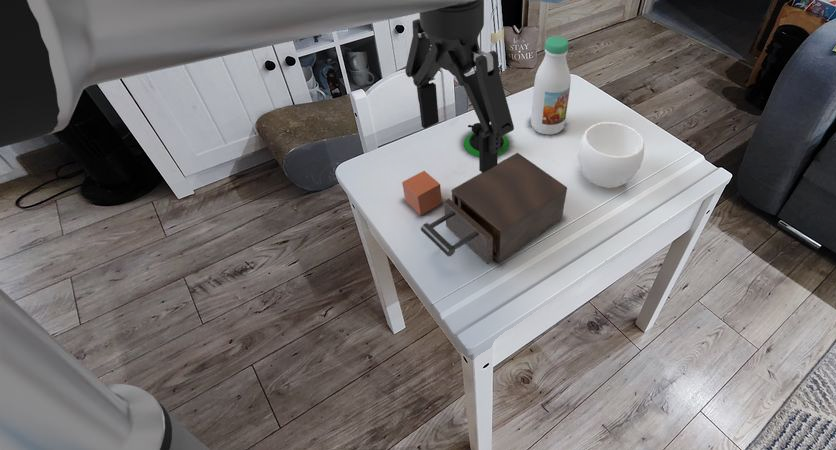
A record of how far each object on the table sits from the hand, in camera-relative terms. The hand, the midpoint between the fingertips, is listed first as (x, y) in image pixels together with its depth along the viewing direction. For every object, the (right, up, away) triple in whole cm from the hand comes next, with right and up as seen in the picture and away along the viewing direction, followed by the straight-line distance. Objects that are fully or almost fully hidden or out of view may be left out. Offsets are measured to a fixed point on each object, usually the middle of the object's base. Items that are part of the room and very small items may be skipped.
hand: (458, 145), depth 67 cm
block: (-8, -7, +20) cm, 23 cm away
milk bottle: (+17, +11, +37) cm, 43 cm away
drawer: (+3, -13, +14) cm, 19 cm away
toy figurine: (+3, +6, +33) cm, 33 cm away
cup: (+27, -2, +26) cm, 38 cm away
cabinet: (+8, -11, +17) cm, 22 cm away
